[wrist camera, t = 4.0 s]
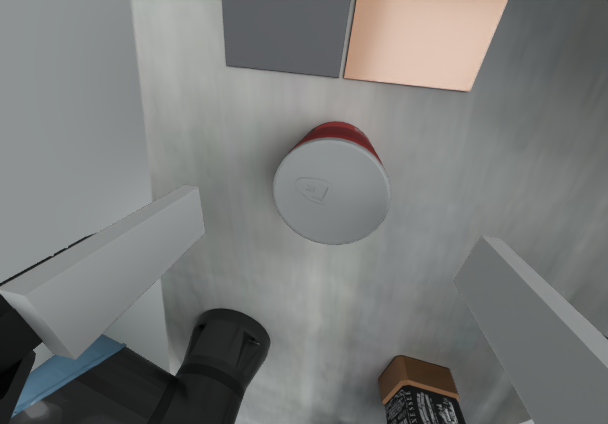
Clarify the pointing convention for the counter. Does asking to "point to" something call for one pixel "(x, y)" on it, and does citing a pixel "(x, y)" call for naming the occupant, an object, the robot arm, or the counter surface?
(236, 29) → the charcoal mat
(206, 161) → the counter surface
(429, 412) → the whiskey bottle
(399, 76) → the terracotta tile
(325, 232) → the canned food
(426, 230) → the counter surface
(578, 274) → the counter surface
